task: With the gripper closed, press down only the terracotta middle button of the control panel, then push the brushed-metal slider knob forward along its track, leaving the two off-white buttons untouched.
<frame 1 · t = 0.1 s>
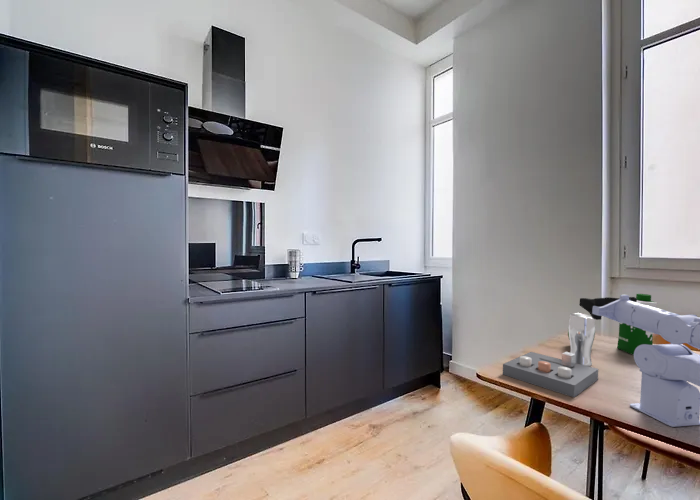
hand: (593, 301, 98), 22 cm above the table, tool horizontal, fingers open, 7 cm apart
avocado: (580, 348, 128), on the table
far button: (525, 363, 101), point 3 cm above the table, slide at 0.0 cm
control panel: (549, 376, 100), on the table
slider knob: (568, 359, 100), point 5 cm above the table, slide at 0.0 cm
milk carton: (634, 352, 125), on the table
middle button: (544, 369, 97), point 3 cm above the table, slide at 0.0 cm
beer glass: (580, 363, 112), on the table
near button: (564, 375, 93), point 3 cm above the table, slide at 0.0 cm
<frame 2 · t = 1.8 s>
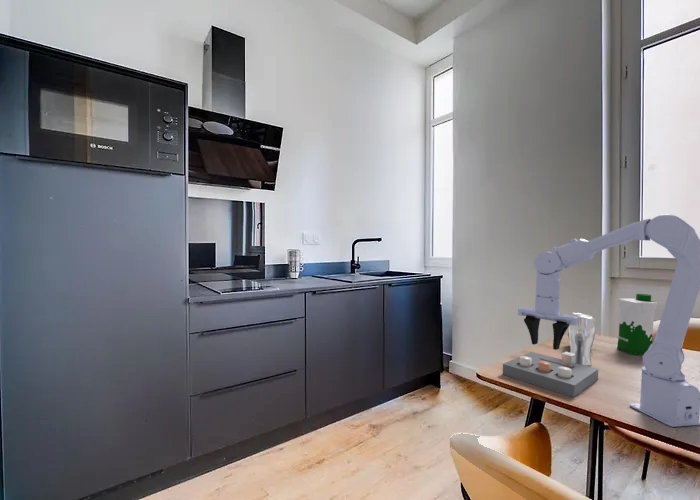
hand: (545, 346, 97), 9 cm above the table, tool pointing down, fingers open, 5 cm apart
nothing on the table moved.
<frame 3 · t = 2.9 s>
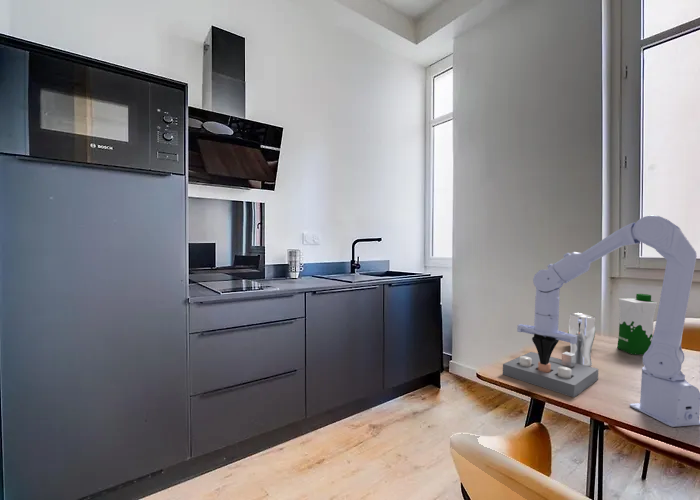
hand: (544, 363, 97), 5 cm above the table, tool pointing down, fingers closed, pressing on middle button
middle button: (544, 369, 97), point 3 cm above the table, slide at 0.1 cm, touching gripper
everything else where it was.
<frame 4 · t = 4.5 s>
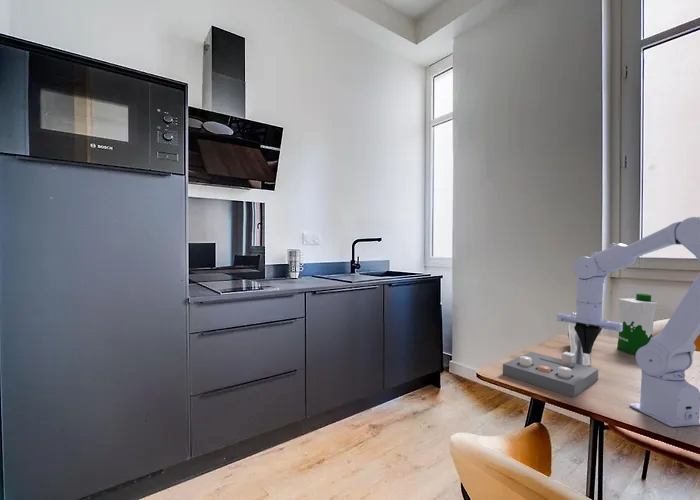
hand: (586, 352, 95), 8 cm above the table, tool pointing down, fingers closed
middle button: (543, 373, 97), point 2 cm above the table, slide at 1.2 cm
everything else where it was.
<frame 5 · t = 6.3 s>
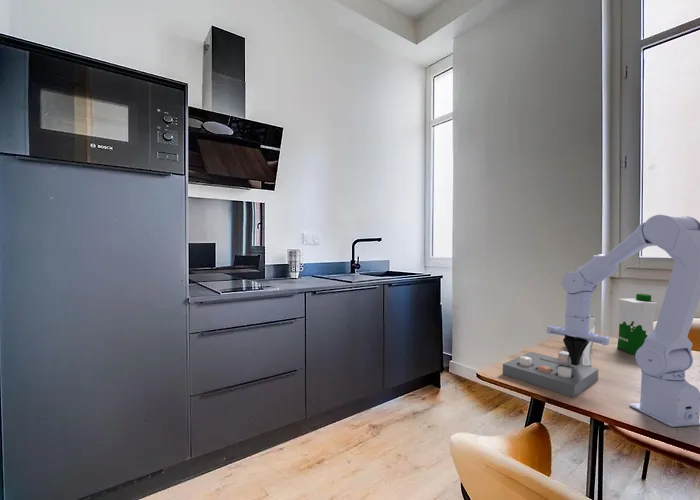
hand: (574, 364, 99), 4 cm above the table, tool pointing down, fingers closed
slider knob: (564, 358, 101), point 5 cm above the table, slide at 0.9 cm, touching gripper
everything else where it was.
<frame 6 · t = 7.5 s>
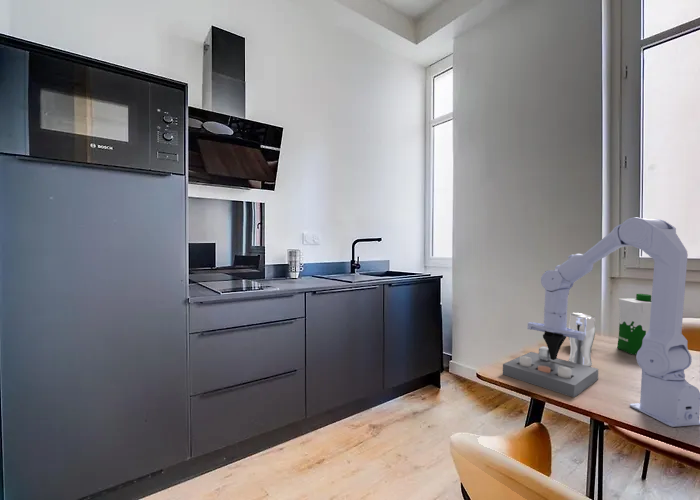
hand: (553, 358, 103), 4 cm above the table, tool pointing down, fingers closed
slider knob: (545, 353, 105), point 5 cm above the table, slide at 6.2 cm, touching gripper
everything else where it was.
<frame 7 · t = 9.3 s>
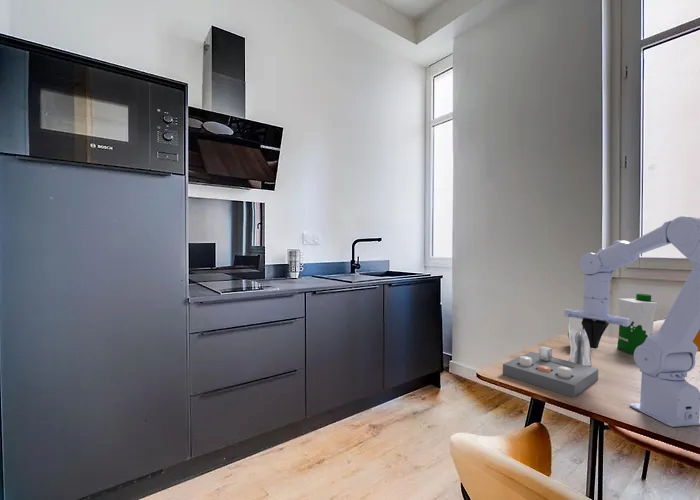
hand: (593, 347, 97), 9 cm above the table, tool pointing down, fingers closed
slider knob: (545, 353, 105), point 5 cm above the table, slide at 6.1 cm
everything else where it was.
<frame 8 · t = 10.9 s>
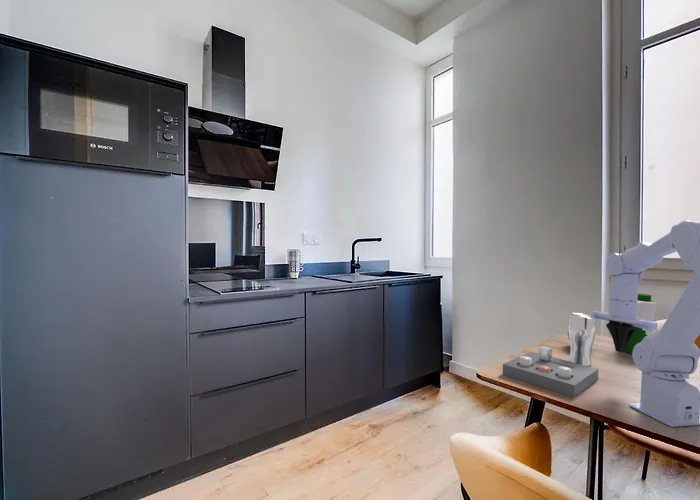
hand: (620, 351, 94), 9 cm above the table, tool pointing down, fingers closed
nothing on the table moved.
at the end: middle button slide at 1.2 cm; slider knob slide at 6.1 cm; near button slide at 0.0 cm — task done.
